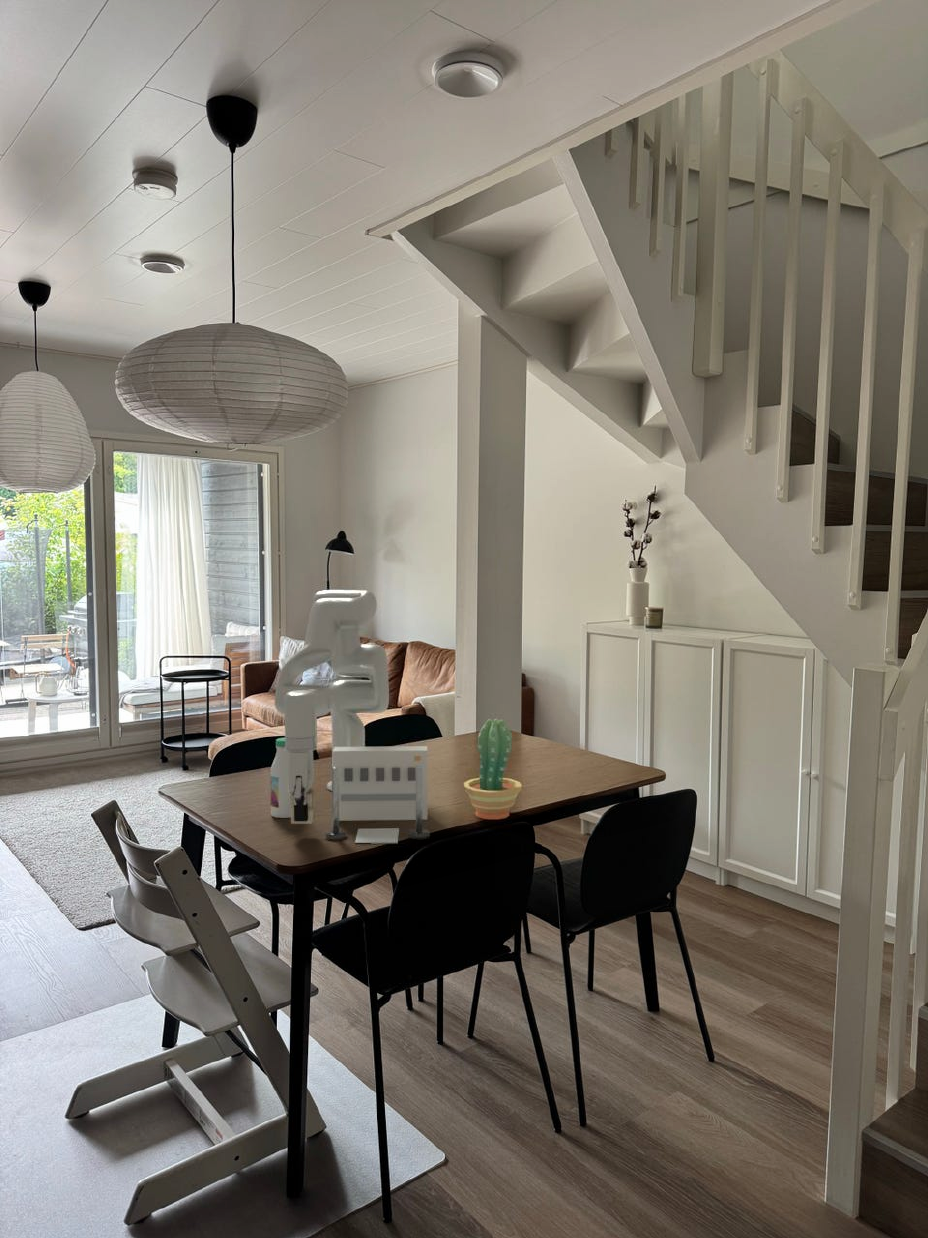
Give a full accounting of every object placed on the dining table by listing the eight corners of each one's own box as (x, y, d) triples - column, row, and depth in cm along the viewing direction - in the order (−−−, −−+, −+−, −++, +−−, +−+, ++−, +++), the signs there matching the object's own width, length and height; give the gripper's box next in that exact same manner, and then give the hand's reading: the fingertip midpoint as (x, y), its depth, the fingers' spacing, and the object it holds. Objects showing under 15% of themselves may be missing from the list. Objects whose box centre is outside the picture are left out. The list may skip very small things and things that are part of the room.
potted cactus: (533, 813, 226) (534, 719, 224) (496, 827, 214) (496, 728, 213) (488, 802, 236) (489, 712, 234) (450, 815, 225) (450, 720, 223)
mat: (358, 830, 212) (358, 828, 212) (399, 829, 212) (399, 828, 212) (355, 843, 202) (354, 842, 202) (397, 843, 202) (397, 841, 202)
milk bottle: (303, 810, 229) (302, 735, 228) (298, 818, 221) (297, 742, 220) (273, 810, 229) (272, 736, 227) (268, 819, 221) (266, 742, 220)
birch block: (294, 817, 209) (293, 789, 208) (314, 816, 209) (314, 788, 209) (290, 824, 204) (290, 795, 204) (312, 823, 204) (311, 794, 204)
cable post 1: (326, 834, 209) (325, 765, 208) (347, 833, 209) (346, 765, 208) (324, 840, 204) (323, 770, 203) (345, 840, 204) (344, 770, 203)
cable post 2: (409, 833, 210) (408, 764, 209) (429, 832, 210) (429, 764, 209) (408, 839, 205) (408, 769, 204) (429, 839, 205) (429, 769, 204)
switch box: (335, 815, 225) (334, 746, 223) (427, 813, 226) (427, 746, 224) (333, 821, 219) (332, 752, 218) (427, 820, 220) (427, 751, 219)
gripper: (291, 734, 213) (292, 806, 215) (279, 751, 196) (281, 829, 198) (321, 734, 214) (322, 805, 215) (312, 751, 197) (313, 828, 198)
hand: (302, 816), depth 207 cm, fingers closed on birch block, 5 cm apart
